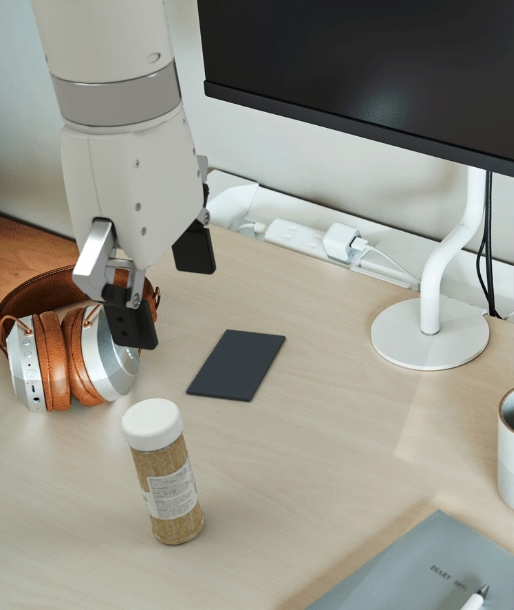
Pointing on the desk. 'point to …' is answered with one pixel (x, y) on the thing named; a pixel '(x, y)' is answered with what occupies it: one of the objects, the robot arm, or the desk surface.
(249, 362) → the mat
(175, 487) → the brown spice jar
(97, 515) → the desk surface
